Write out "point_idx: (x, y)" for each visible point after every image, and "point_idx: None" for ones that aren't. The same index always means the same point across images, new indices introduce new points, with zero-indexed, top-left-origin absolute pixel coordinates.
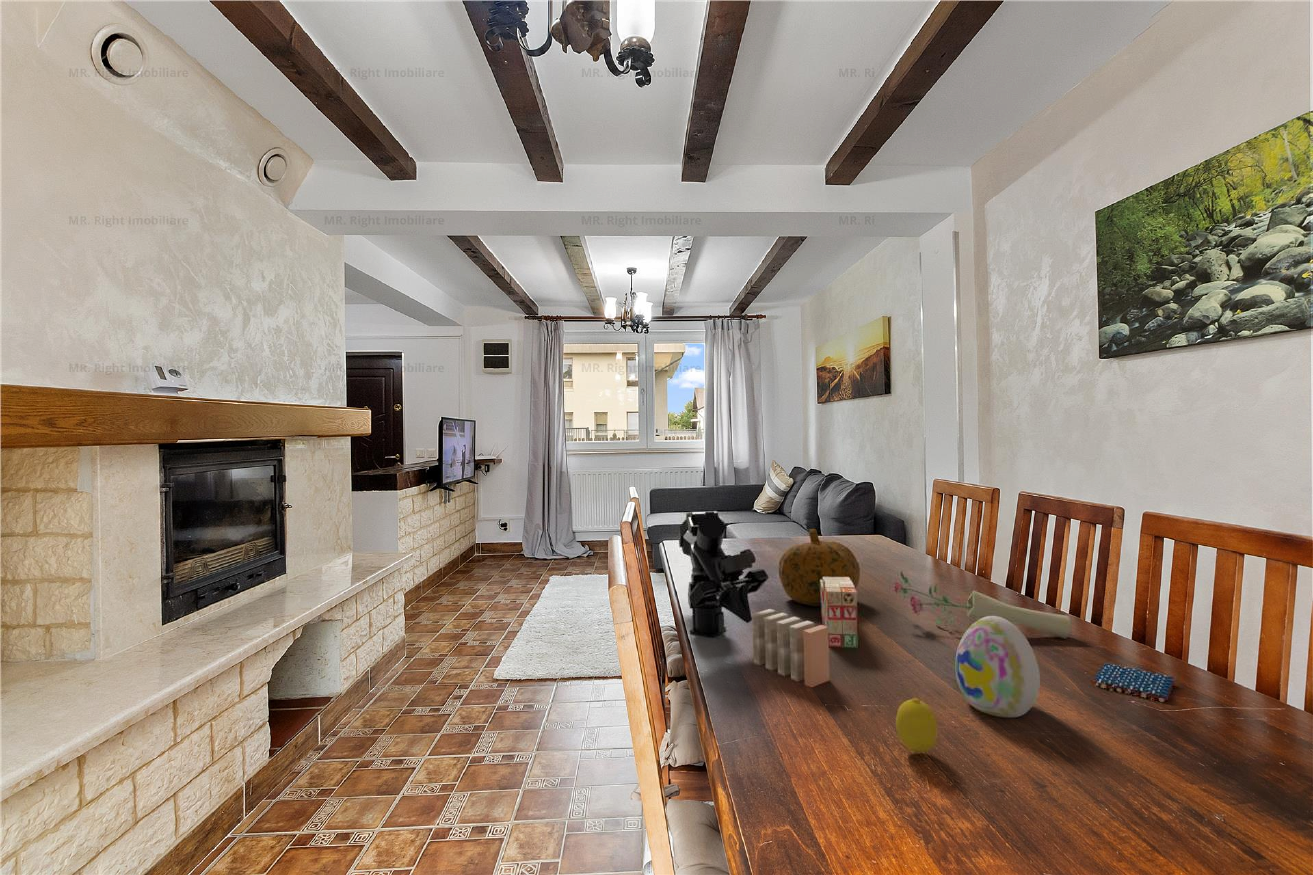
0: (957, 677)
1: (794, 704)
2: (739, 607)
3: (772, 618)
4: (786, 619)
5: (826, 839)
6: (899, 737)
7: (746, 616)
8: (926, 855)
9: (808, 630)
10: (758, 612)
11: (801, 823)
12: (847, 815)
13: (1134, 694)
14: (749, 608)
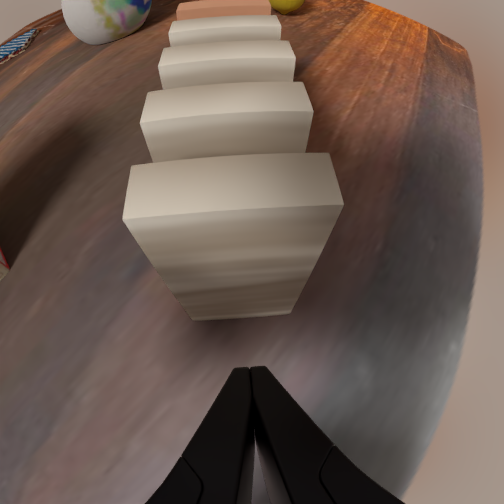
0: (130, 8)
1: (344, 100)
2: (329, 445)
3: (279, 85)
4: (225, 57)
5: (422, 29)
6: (302, 3)
7: (279, 383)
8: (371, 4)
9: (254, 3)
10: (276, 202)
11: (433, 39)
12: (399, 25)
13: (32, 39)
14: (205, 423)
